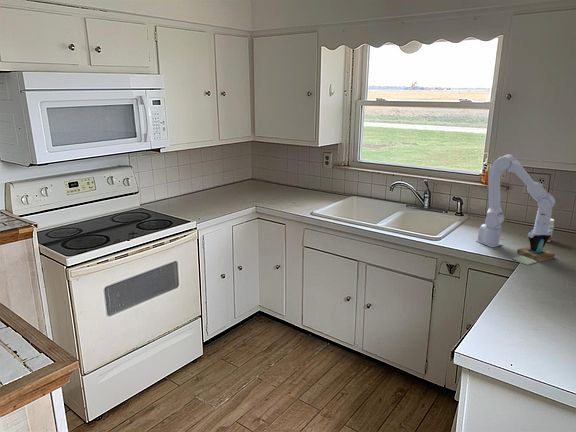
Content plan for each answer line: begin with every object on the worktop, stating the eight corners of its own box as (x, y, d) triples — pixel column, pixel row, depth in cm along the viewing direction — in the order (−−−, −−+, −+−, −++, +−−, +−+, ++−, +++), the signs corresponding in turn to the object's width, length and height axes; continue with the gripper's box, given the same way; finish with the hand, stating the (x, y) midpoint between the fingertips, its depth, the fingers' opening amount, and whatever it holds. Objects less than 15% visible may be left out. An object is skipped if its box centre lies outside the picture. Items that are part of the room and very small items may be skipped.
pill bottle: (534, 237, 227) (538, 217, 223) (545, 237, 227) (550, 217, 224) (542, 242, 221) (546, 221, 217) (553, 242, 221) (558, 220, 218)
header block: (516, 253, 207) (517, 249, 206) (531, 249, 212) (532, 245, 211) (538, 261, 198) (539, 257, 197) (554, 257, 202) (554, 253, 202)
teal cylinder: (527, 254, 205) (531, 238, 203) (533, 252, 207) (537, 237, 205) (536, 257, 202) (540, 241, 199) (542, 256, 204) (546, 240, 201)
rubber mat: (512, 259, 200) (512, 258, 199) (522, 256, 203) (522, 255, 203) (526, 265, 194) (526, 264, 194) (536, 262, 197) (537, 261, 197)
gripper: (540, 226, 193) (534, 255, 197) (560, 222, 199) (554, 250, 203) (525, 222, 199) (520, 249, 203) (546, 217, 205) (540, 244, 209)
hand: (536, 249), depth 204 cm, fingers closed on teal cylinder, 4 cm apart
